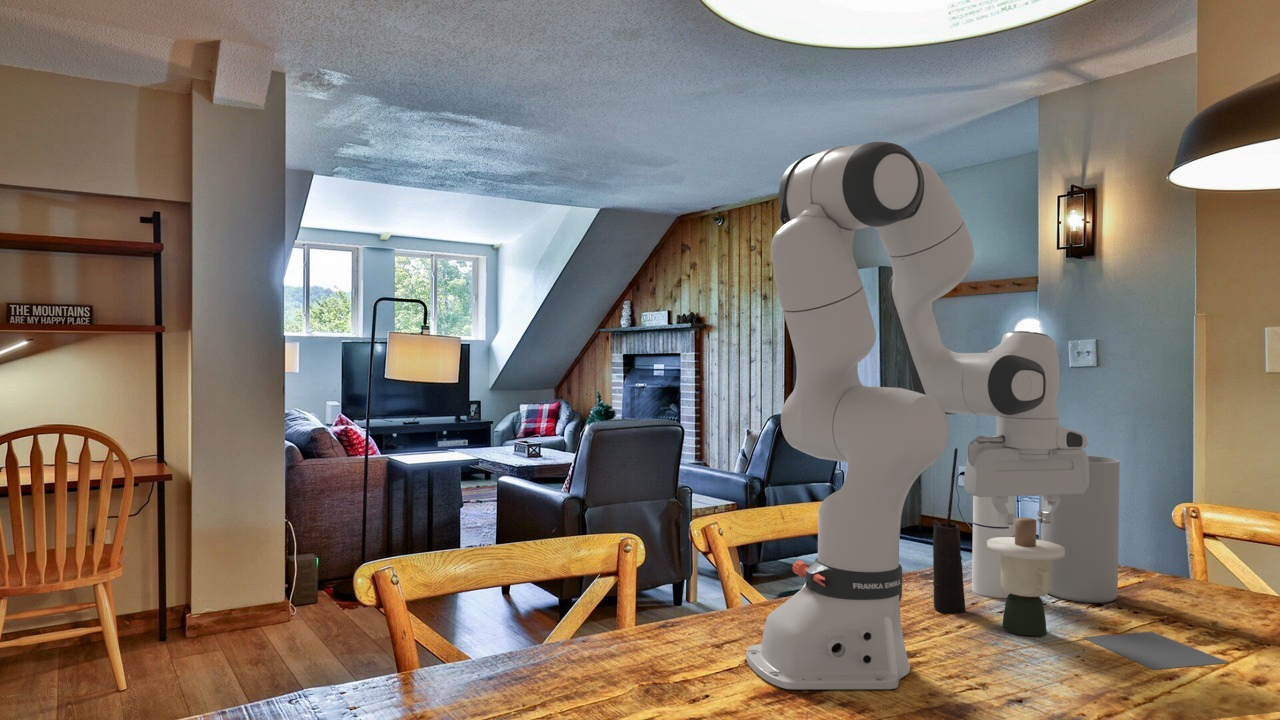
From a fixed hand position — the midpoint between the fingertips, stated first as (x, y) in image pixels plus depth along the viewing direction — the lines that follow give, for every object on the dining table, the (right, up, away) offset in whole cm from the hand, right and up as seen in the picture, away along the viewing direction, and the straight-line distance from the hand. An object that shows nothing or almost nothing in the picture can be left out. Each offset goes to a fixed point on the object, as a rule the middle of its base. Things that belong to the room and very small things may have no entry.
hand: (1025, 523), depth 126 cm
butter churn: (-8, -17, +13) cm, 23 cm away
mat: (+15, -18, -8) cm, 24 cm away
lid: (0, -4, 0) cm, 4 cm away
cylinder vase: (+20, -18, +22) cm, 35 cm away
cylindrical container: (+5, -18, +23) cm, 29 cm away
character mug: (0, -18, 0) cm, 18 cm away
